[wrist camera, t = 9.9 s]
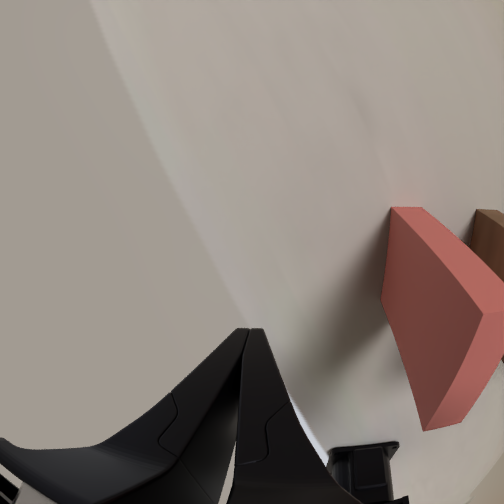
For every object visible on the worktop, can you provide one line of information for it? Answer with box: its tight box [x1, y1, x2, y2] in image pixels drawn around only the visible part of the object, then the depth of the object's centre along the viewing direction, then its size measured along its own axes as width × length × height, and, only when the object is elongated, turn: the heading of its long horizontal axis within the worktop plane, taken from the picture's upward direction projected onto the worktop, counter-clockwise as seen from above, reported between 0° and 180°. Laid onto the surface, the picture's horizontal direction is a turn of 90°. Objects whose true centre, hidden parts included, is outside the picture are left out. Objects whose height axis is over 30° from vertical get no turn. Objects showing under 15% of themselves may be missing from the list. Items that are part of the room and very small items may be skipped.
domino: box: [381, 207, 504, 432], centre depth 9 cm, size 2×5×8 cm, turn 5°
